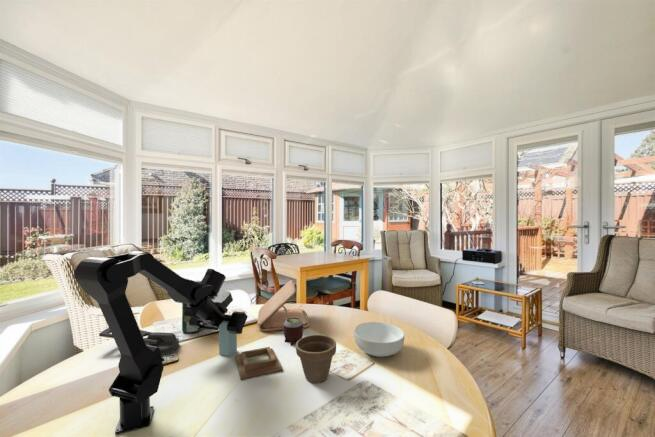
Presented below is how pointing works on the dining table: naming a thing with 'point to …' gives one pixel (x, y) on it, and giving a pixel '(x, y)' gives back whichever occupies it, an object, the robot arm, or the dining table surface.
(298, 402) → the dining table surface
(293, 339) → the mate gourd
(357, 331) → the cereal bowl
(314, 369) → the flower pot
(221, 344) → the pale blue rectangular block
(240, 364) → the picture frame
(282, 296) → the case
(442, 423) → the dining table surface
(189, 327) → the coffee jar
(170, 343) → the zipper pull
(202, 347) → the dining table surface
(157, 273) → the robot arm
